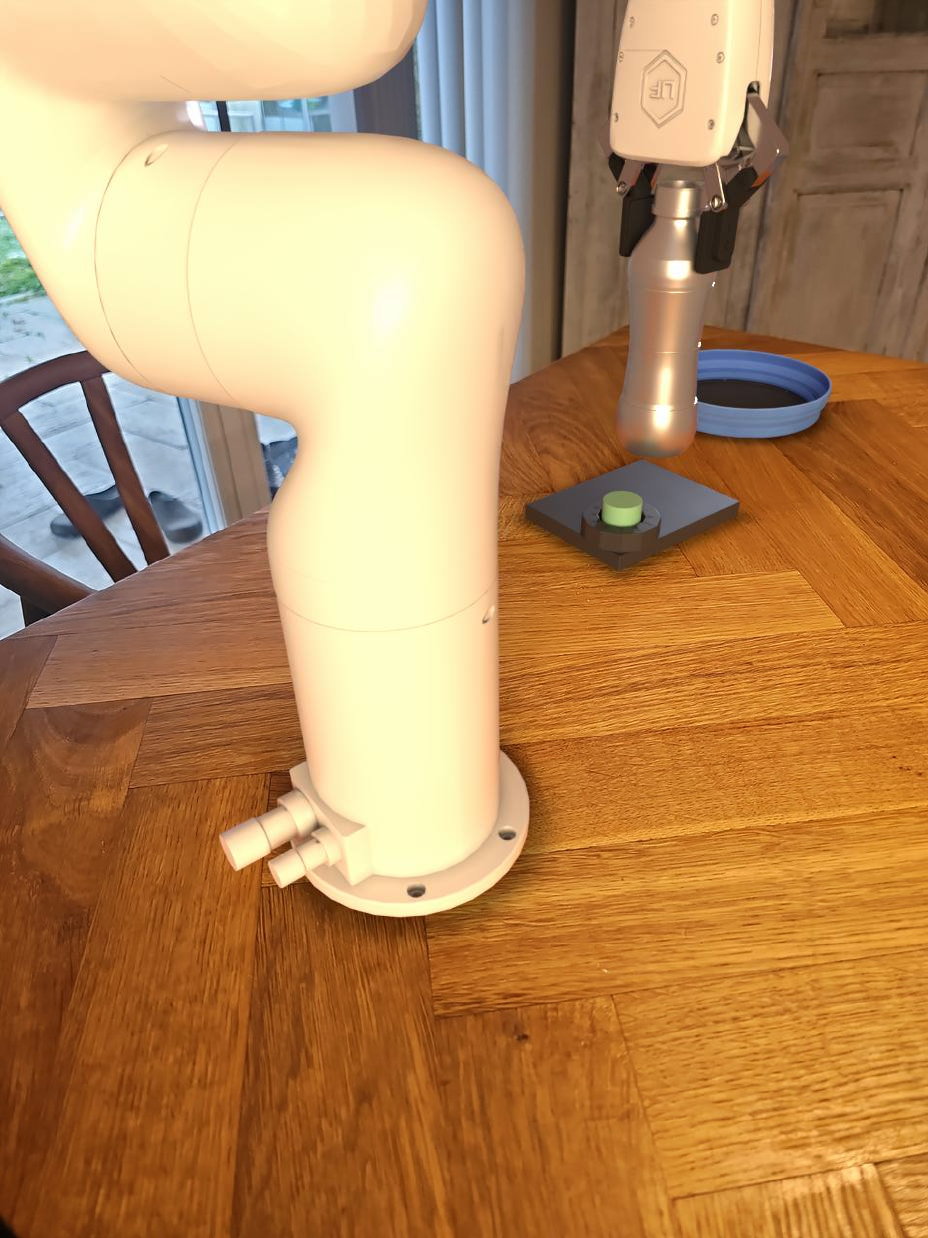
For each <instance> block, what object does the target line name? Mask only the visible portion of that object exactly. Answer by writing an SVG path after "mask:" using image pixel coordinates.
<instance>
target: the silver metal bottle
mask: <svg viewBox="0 0 928 1238" xmlns="http://www.w3.org/2000/svg"><path fill="white" fill-rule="evenodd" d="M654 193H655V195H654V204H653V205H652V209H651V212H652V213H653V214H655V218H654V222H653V223H652V224H651V226H650V227H649V228H648V229H647V231H646V232H645V233H644V234H643V235H642V237H641V238H640V240H639V241H638V243H637V244H636V246H635V247H634V249H633V250H632V253H631V256H630V257H629V259H628V262H627V278H628V279H627V281H628V283H627V284H628V301H629V302H628V303H629V337H630V338H629V340H628V343H629V344H628V354H627V362H626V368H625V374H624V378H623V379H624V380H623V387H622V392H621V394H620V396H619V399H618V402H617V408H616V413H615V417H614V420H615V421H614V422H615V423H614V424H615V431H616V432H615V433H616V438H617V439H618V442H619V444H620V445H621V447H622V448H623V449H624V450H625V451H627V452H628V453H631V454H632V455H636V456H638V457H643V458H649V459H668V458H674V457H678V456H681V455H682V454H683V453H685V452H686V451H687V450H688V448H690V447H691V445H692V444H693V442H694V439H695V436H696V432H697V431H696V429H697V426H698V405H697V398H696V391H697V369H698V354H699V351H700V349H701V340H702V337H703V332H704V327H705V326H704V325H705V321H706V316H707V312H708V309H709V304H710V301H711V298H712V294H713V290H714V287H715V281H716V280H717V275H718V271H716V272H712V273H708V274H699V273H696V271H695V270H694V265H695V256H696V248H697V240H698V232H699V223H700V216H701V214H702V211H706V210H709V206H708V196H707V191H706V186H705V181H704V182H703V181H697V180H681V179H680V180H664V181H658V182H656V183H655V186H654Z"/></svg>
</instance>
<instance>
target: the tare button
mask: <svg viewBox="0 0 928 1238" xmlns="http://www.w3.org/2000/svg"><path fill="white" fill-rule="evenodd" d="M642 503H643V500H642V498H641V497H640V496H639V495H637V494H635V493H632V492H628V491H615V492H610V493H608V494H606V495H605V496H604V497H603V504H602V521H603V522H604V523H606V524H608V525H612V526H617V527H630V526H635V525H637V524H639V523H640V521H641V512H642Z"/></svg>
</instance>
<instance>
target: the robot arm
mask: <svg viewBox="0 0 928 1238" xmlns="http://www.w3.org/2000/svg"><path fill="white" fill-rule="evenodd" d="M428 3H429V0H0V210H1V212H2V214H3V216H4V218H5V220H6V221H7V223H8V225H9V227H10V229H11V230H12V232H13V234H14V236H15V238H16V239H17V242H18V243H19V246H20V248H21V249H22V251H23V253H24V255H25V257H26V258H27V260H28V262H29V264H30V265H31V267H32V270H33V271H34V273H35V275H36V276H37V279H38V280H39V282H40V284H41V286H42V287H43V290H44V291H45V293H46V295H47V297H48V298H49V300H50V301H51V303H52V305H53V307H54V308H55V310H56V311H57V312H58V314H59V316H60V317H61V319H62V320H63V322H64V323H65V324H66V326H67V328H68V329H69V331H71V333H72V334H73V336H74V337H75V338H76V339H77V340H78V342H79V343H80V344H81V345H82V346H83V348H84V349H85V350H86V351H87V352H88V353H89V354H90V355H91V357H93V358H94V359H95V360H96V361H97V362H99V364H101V365H102V366H103V367H104V368H106V369H107V370H108V371H110V372H112V373H113V374H114V375H116V376H117V377H119V378H121V379H123V380H125V381H127V382H128V383H130V384H133V385H135V386H138V387H141V388H143V389H146V390H150V391H153V392H157V393H160V394H163V395H167V396H172V397H176V398H182V399H187V400H193V401H198V402H204V403H207V404H208V403H209V404H214V405H219V406H224V407H229V408H234V409H240V410H245V411H249V412H251V413H254V414H256V415H260V416H263V417H267V418H268V417H269V418H272V419H276V420H281V421H283V422H285V423H288V424H289V425H290V426H291V427H292V428H293V429H294V431H295V435H296V438H297V448H296V449H297V450H296V453H295V457H294V458H293V462H292V463H291V465H290V467H289V470H288V471H287V473H286V475H285V477H284V478H283V480H282V482H280V483H281V484H279V485H280V486H279V487H278V489H277V491H276V493H275V495H274V497H273V499H272V502H271V504H270V508H269V511H268V514H267V521H266V522H267V523H266V550H267V557H268V565H269V570H270V576H271V581H272V586H273V590H274V592H275V599H276V602H277V609H278V614H279V618H280V623H281V629H282V634H283V635H282V636H283V639H284V640H283V641H284V645H285V646H284V647H285V650H286V656H287V661H288V666H289V673H290V677H291V683H292V688H293V693H294V698H295V704H296V709H297V714H298V715H297V716H298V721H299V725H300V731H301V735H302V742H303V747H304V753H305V757H306V759H305V760H303V762H300V763H298V764H296V765H294V766H292V767H291V768H289V771H288V772H289V775H290V781H291V785H292V790H290V791H289V792H287V793H285V794H282V795H280V796H279V797H278V798H277V799H276V805H277V807H275V808H273V809H271V810H269V811H267V812H265V813H263V814H261V815H259V816H258V817H254V816H252V817H250V818H248V819H246V820H245V821H243V822H241V823H239V824H237V825H235V826H233V827H230V828H229V829H227V830H224V831H223V832H221V833H219V835H218V839H219V842H220V845H221V848H222V850H223V852H224V854H225V857H226V858H227V860H228V862H229V864H230V865H231V868H232V869H234V871H235V872H238V871H240V870H241V869H243V868H246V867H247V866H249V865H251V864H253V863H255V862H256V861H258V860H260V859H262V858H264V857H265V856H267V855H270V854H271V853H272V851H273V850H275V849H277V848H279V847H280V846H283V845H284V844H285V843H288V842H290V845H291V848H290V849H289V850H287V851H284V852H283V853H281V854H279V855H278V856H276V857H274V858H272V859H270V860H269V861H267V866H268V868H269V871H270V874H271V876H272V878H273V880H274V882H276V885H277V886H278V887H279V888H280V889H283V888H286V887H287V886H288V885H290V884H292V883H294V882H296V881H298V880H300V879H301V878H303V877H304V876H305V877H306V879H308V880H309V883H311V884H312V885H313V886H314V888H316V889H317V890H318V891H320V892H321V893H323V894H324V895H325V896H326V897H328V898H329V899H330V900H332V901H334V902H337V903H339V904H341V905H343V906H345V907H347V908H349V909H351V910H355V911H358V912H362V913H366V914H369V915H372V916H373V915H374V916H384V917H395V918H407V917H418V916H419V917H420V916H427V915H432V914H436V913H439V912H444V911H448V910H451V909H453V908H456V907H458V906H461V905H464V904H465V903H467V902H470V901H473V900H474V899H475V898H477V897H479V896H480V895H481V894H483V893H485V892H487V891H488V890H489V889H491V888H492V887H494V886H495V885H496V883H498V882H499V881H500V880H501V879H502V878H503V877H504V876H505V875H506V874H507V873H508V872H509V871H510V869H512V867H513V866H514V864H515V862H516V861H517V859H518V858H519V856H520V855H521V854H522V850H523V849H524V845H525V843H526V841H527V837H528V833H529V827H530V826H529V825H530V797H529V793H528V789H527V784H526V782H525V779H524V777H523V776H522V774H521V771H520V770H519V767H518V766H517V765H516V764H515V762H514V761H512V759H511V758H510V757H509V756H508V754H506V753H505V752H504V751H503V750H502V749H500V747H501V746H500V744H501V743H500V742H501V741H500V611H499V610H500V606H499V605H500V600H499V599H500V597H499V595H500V594H499V593H500V592H499V591H500V590H499V589H500V588H499V585H500V583H499V582H500V581H499V580H500V579H499V578H500V577H499V493H500V492H499V491H500V490H499V489H500V488H499V487H500V486H499V485H500V472H501V455H502V454H501V453H502V445H503V444H502V443H503V436H504V435H503V433H504V426H505V419H506V418H505V417H506V409H507V405H508V398H509V392H510V386H511V381H512V375H513V374H512V373H513V369H514V364H515V358H516V352H517V349H518V342H519V337H520V332H521V327H522V326H521V325H522V319H523V313H524V304H525V296H526V280H527V279H526V278H527V275H526V274H527V260H526V249H525V243H524V239H523V238H524V237H523V232H522V229H521V226H520V223H519V219H518V217H517V215H516V212H515V210H514V207H513V206H512V204H511V203H510V201H509V199H508V197H507V196H506V194H505V193H504V191H503V190H502V189H501V188H500V186H499V185H498V184H497V183H496V181H495V180H494V179H493V178H492V177H491V176H490V175H489V174H488V173H487V172H486V171H484V170H483V169H482V168H480V167H479V166H477V165H476V164H475V163H474V162H472V161H470V160H469V159H467V158H465V157H464V156H462V155H460V154H458V153H456V152H455V151H453V150H450V149H447V148H445V147H443V146H440V145H437V144H433V143H429V142H426V141H422V140H418V139H414V138H411V137H404V136H400V135H399V136H398V135H390V134H382V133H374V132H351V131H350V132H349V131H347V132H346V131H304V130H303V131H300V130H299V131H297V130H261V131H258V132H255V131H254V132H252V131H219V130H218V131H216V130H213V131H212V130H209V129H208V126H207V123H206V119H205V116H204V114H203V111H202V107H201V105H200V104H201V103H200V102H252V101H254V102H258V101H259V102H260V101H289V100H290V101H291V100H305V99H307V100H308V99H315V98H322V97H327V96H333V95H339V94H343V93H346V92H349V91H353V90H355V89H358V88H361V87H363V86H366V85H369V84H371V83H373V82H375V81H377V80H379V79H380V78H382V77H383V76H384V75H385V74H387V73H388V72H389V71H390V70H392V69H393V68H394V67H395V66H396V65H397V64H399V63H400V62H402V60H403V59H404V58H405V57H406V56H407V54H408V53H409V51H410V50H411V47H412V46H413V44H414V42H415V40H416V38H417V37H418V35H419V33H420V31H421V28H422V26H423V24H424V20H425V17H426V13H427V8H428ZM774 36H775V0H627V5H626V9H625V13H624V17H623V22H622V27H621V32H620V38H619V44H618V49H617V57H616V64H615V71H614V78H613V79H614V80H613V86H612V87H613V88H612V98H611V109H610V116H609V118H608V119H607V120H606V121H605V123H604V124H603V125H602V127H601V128H600V129H599V131H598V133H597V140H598V143H599V145H600V147H601V149H602V151H603V153H604V155H605V157H606V159H608V161H607V162H608V163H607V164H608V167H609V168H608V169H609V170H610V172H611V174H612V176H613V178H614V180H615V181H616V186H615V190H616V194H617V196H618V197H619V198H622V203H621V204H622V205H621V217H620V218H621V220H620V232H619V243H618V244H619V245H618V246H619V247H618V254H619V256H620V257H624V258H630V256H631V253H632V250H633V249H634V247H635V246H636V244H637V243H638V241H639V240H640V238H641V237H642V235H643V234H644V233H645V232H646V231H647V229H648V228H649V227H650V226H651V224H652V223H653V222H654V218H655V214H653V213H652V212H651V209H652V205H653V204H654V195H655V192H653V193H652V191H653V189H654V188H655V186H656V184H657V181H658V178H659V176H660V173H661V171H662V168H663V166H664V164H666V165H673V166H682V167H693V168H701V171H702V175H703V176H702V177H703V181H704V183H705V186H706V191H707V196H708V199H707V202H708V205H709V206H708V207H709V209H708V210H706V211H702V214H701V216H700V223H699V232H698V240H697V248H696V256H695V265H694V270H695V271H696V273H699V274H708V273H712V272H716V271H717V272H719V271H723V270H728V269H729V268H730V266H731V263H732V260H733V259H732V258H733V255H734V251H735V245H736V238H737V232H738V224H739V218H740V211H741V209H742V208H746V207H747V206H748V204H750V201H751V198H752V197H753V196H754V195H755V194H756V192H758V191H759V190H760V189H761V188H762V187H763V186H764V185H765V183H766V182H767V180H768V177H769V176H771V175H772V174H773V173H774V172H775V171H776V170H777V169H778V168H779V167H780V165H781V164H782V163H783V162H784V161H785V160H786V159H787V158H788V156H789V155H790V152H791V149H790V148H791V147H790V145H789V143H788V141H787V139H786V138H785V136H784V134H783V132H782V131H781V129H780V127H779V126H778V124H777V123H776V121H775V120H774V117H773V115H771V113H770V111H769V109H768V107H769V105H768V104H769V96H770V88H771V79H772V69H773V57H774V56H773V53H774ZM751 157H752V158H751ZM750 158H751V159H750ZM748 159H750V160H749V163H748V164H747V165H746V164H745V160H748Z"/></svg>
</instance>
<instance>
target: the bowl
mask: <svg viewBox="0 0 928 1238" xmlns="http://www.w3.org/2000/svg"><path fill="white" fill-rule="evenodd" d="M832 388H833V384H832V380H831V379H830V377H829V375H827V373H825V372H824V371H823V370H821V369H819V368H818V367H816V366H815V365H812V364H810V363H808V362H805V361H802V360H799V359H796V358H793V357H789V356H785V355H781V354H777V353H771V352H765V351H759V350H750V349H735V348H734V349H731V348H730V349H728V348H727V349H726V348H719V349H703V350H699V354H698V369H697V391H696V398H697V405H698V426H697V429H696V432H700V433H703V434H708V435H714V436H719V437H727V438H738V439H768V438H778V437H785V436H789V435H792V434H796V433H799V432H802V431H805V430H807V429H809V428H810V427H811V426H813V425H814V424H815V423H817V421H818V420H819V418H820V415H821V412H822V410H823V409H824V408H825V406H826V405H827V404H828V401H829V399H830V398H831V394H832Z"/></svg>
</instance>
